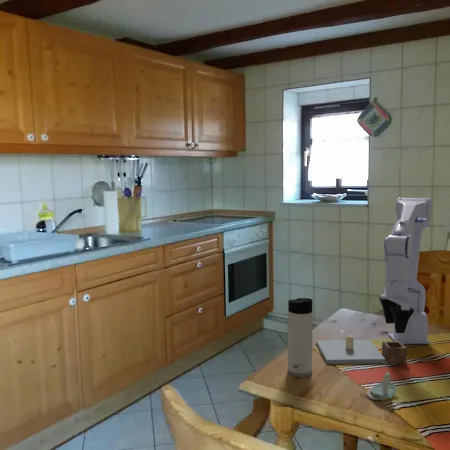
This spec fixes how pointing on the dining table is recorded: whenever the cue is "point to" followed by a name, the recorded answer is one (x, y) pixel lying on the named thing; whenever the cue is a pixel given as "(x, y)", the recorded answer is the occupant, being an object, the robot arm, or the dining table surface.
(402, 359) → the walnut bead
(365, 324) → the dining table surface
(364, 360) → the grey rectangular slab
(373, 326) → the dining table surface
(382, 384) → the pacifier
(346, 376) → the dining table surface
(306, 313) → the travel mug
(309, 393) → the dining table surface
